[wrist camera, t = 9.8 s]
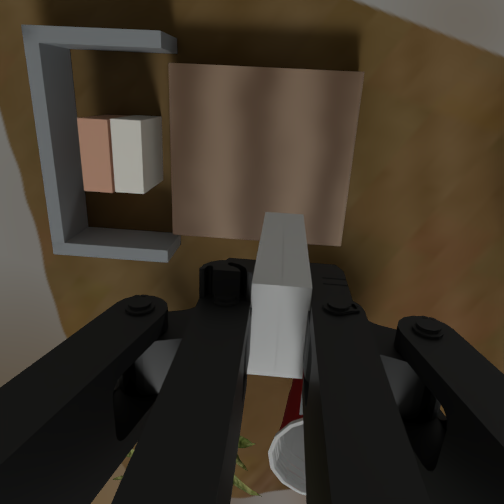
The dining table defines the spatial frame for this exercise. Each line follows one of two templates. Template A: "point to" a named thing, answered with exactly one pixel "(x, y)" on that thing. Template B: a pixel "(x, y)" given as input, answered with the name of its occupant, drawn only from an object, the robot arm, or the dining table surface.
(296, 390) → the plastic cup
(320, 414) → the robot arm
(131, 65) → the dining table surface
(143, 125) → the cream tile
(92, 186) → the terracotta tile
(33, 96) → the box
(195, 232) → the walnut plate
